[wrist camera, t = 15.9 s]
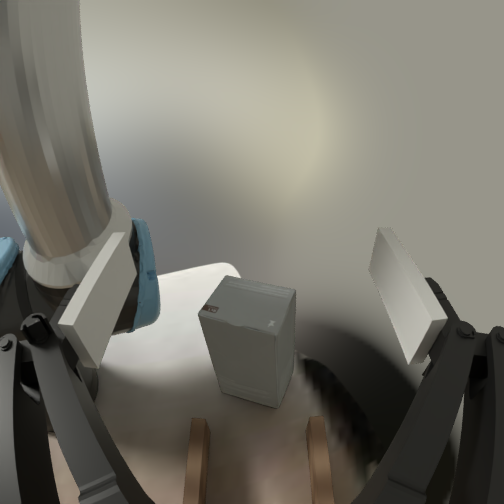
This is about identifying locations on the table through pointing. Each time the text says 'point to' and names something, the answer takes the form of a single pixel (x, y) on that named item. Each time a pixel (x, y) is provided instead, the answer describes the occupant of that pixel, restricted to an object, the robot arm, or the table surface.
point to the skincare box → (251, 338)
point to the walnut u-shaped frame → (316, 454)
